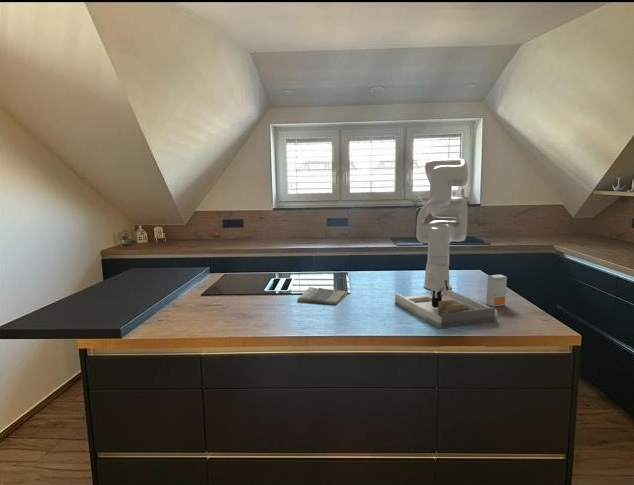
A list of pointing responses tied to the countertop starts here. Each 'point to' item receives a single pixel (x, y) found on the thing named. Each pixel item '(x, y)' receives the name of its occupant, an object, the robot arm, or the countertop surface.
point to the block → (449, 306)
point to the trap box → (468, 316)
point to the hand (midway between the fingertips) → (436, 306)
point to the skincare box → (496, 290)
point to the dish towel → (322, 296)
